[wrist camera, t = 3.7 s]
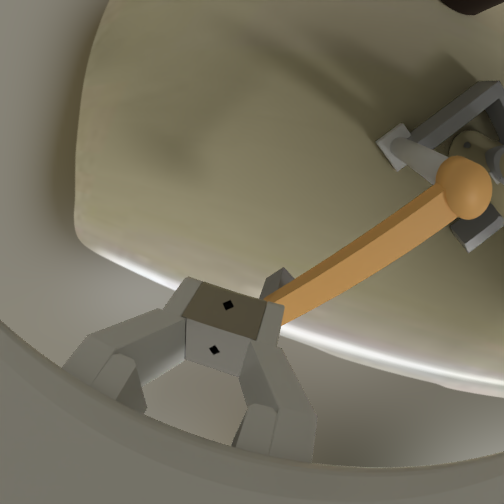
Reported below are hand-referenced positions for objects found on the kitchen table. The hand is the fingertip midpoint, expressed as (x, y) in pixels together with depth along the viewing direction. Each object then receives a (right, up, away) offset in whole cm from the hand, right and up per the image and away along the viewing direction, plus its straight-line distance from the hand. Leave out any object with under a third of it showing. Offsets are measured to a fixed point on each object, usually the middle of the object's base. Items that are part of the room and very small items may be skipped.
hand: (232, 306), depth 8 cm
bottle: (+21, +28, +2) cm, 35 cm away
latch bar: (+7, +3, +7) cm, 11 cm away
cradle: (+21, +11, +12) cm, 26 cm away
